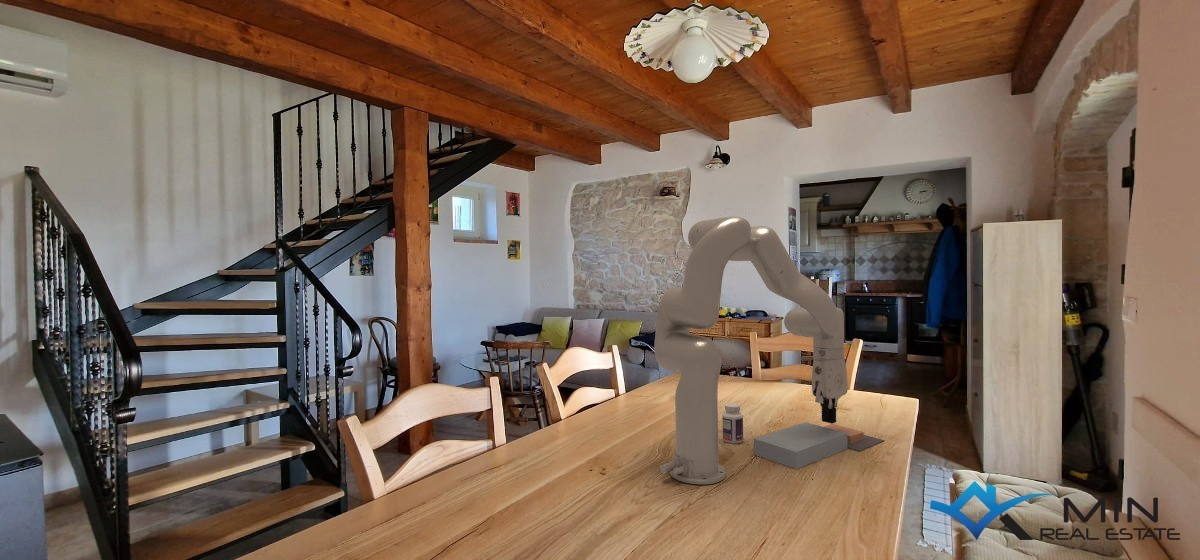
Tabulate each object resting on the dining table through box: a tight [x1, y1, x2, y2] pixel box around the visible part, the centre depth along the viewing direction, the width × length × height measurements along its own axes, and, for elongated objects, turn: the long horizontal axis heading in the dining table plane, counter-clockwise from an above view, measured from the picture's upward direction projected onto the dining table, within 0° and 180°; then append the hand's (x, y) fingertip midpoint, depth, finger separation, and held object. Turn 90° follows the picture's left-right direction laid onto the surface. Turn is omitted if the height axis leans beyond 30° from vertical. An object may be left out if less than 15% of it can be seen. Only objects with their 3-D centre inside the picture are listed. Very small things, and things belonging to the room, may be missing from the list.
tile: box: [822, 423, 865, 444], centre depth 139 cm, size 6×9×2 cm, turn 33°
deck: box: [753, 421, 848, 470], centre depth 130 cm, size 22×12×4 cm, turn 125°
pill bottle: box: [721, 402, 744, 444], centre depth 139 cm, size 5×5×10 cm
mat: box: [846, 434, 886, 453], centre depth 139 cm, size 13×14×1 cm
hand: (828, 421), depth 137 cm, fingers closed
